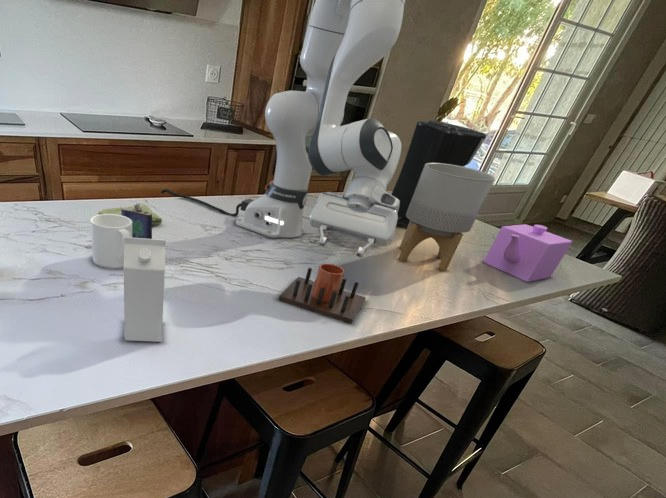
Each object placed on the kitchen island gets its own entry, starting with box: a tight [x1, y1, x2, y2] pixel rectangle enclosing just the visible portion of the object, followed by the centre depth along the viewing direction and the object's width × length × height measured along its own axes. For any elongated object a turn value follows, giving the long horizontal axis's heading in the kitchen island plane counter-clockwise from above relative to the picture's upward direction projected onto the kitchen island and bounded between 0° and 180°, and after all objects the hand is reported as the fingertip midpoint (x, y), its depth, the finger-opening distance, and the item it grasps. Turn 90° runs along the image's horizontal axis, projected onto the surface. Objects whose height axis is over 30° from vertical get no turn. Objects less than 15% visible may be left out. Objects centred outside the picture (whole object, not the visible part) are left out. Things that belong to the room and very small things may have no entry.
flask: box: [121, 203, 153, 239], centre depth 120 cm, size 9×3×11 cm, turn 71°
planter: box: [397, 163, 496, 272], centre depth 130 cm, size 19×19×26 cm
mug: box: [89, 214, 132, 270], centre depth 108 cm, size 13×10×10 cm
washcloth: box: [97, 204, 163, 227], centre depth 135 cm, size 13×18×3 cm
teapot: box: [483, 223, 574, 283], centre depth 135 cm, size 15×25×14 cm, turn 117°
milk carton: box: [122, 237, 167, 343], centre depth 81 cm, size 7×7×19 cm
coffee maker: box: [390, 119, 487, 229], centre depth 158 cm, size 23×32×34 cm
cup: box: [312, 263, 346, 302], centre depth 104 cm, size 6×6×7 cm
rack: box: [278, 267, 366, 325], centre depth 105 cm, size 18×14×5 cm
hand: (340, 250), depth 104 cm, fingers open, 8 cm apart
